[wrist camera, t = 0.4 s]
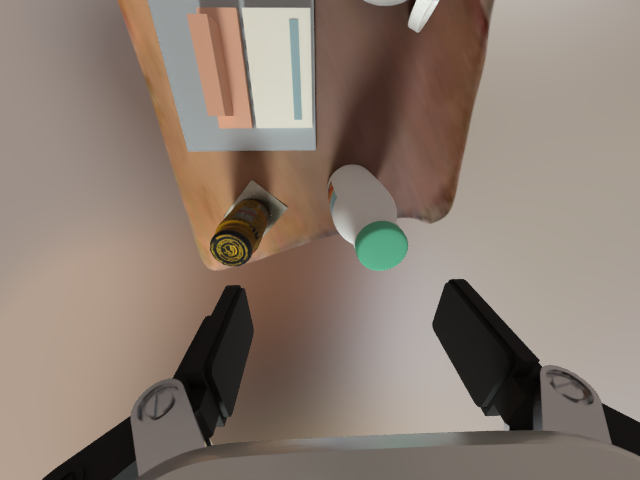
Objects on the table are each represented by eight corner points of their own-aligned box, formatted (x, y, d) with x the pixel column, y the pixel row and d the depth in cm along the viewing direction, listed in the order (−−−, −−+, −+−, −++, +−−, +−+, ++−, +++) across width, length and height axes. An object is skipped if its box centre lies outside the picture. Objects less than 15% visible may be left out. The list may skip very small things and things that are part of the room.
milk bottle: (334, 157, 35) (357, 199, 18) (380, 170, 36) (444, 222, 19) (321, 203, 39) (328, 276, 21) (363, 214, 40) (404, 292, 22)
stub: (199, 10, 26) (179, -8, 22) (238, 10, 26) (225, -7, 22) (221, 128, 32) (209, 129, 28) (253, 127, 32) (245, 129, 28)
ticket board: (146, -22, 25) (132, -34, 23) (313, -21, 26) (313, -32, 24) (191, 150, 34) (183, 152, 32) (315, 149, 35) (315, 151, 32)
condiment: (224, 216, 39) (191, 252, 29) (252, 179, 36) (227, 205, 26) (259, 240, 42) (241, 282, 31) (288, 207, 39) (279, 241, 28)
